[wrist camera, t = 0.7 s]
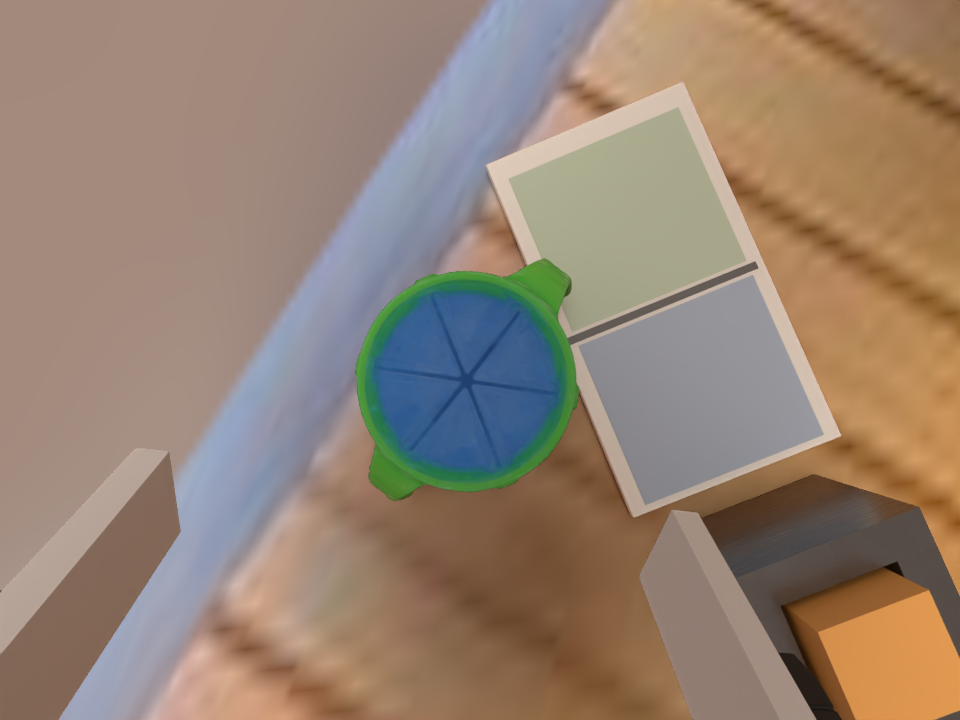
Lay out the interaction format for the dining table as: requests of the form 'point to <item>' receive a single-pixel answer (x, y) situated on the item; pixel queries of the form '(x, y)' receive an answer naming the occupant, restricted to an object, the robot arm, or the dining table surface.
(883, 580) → the button
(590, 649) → the dining table surface
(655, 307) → the picture board
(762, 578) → the button base
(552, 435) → the snack cup
